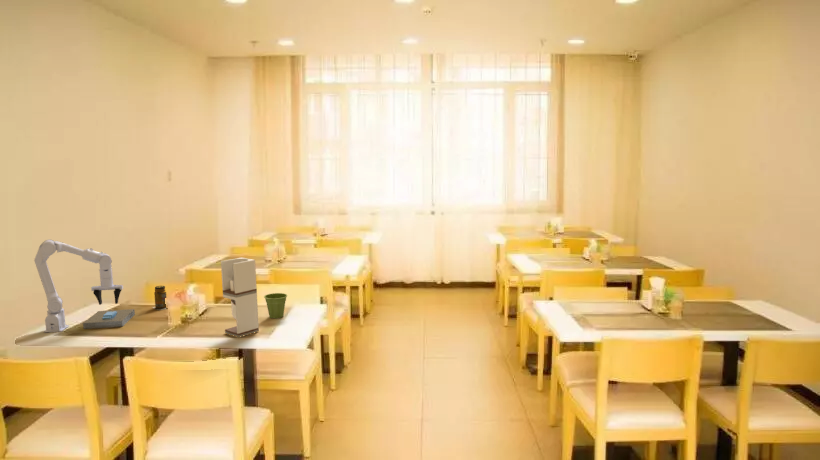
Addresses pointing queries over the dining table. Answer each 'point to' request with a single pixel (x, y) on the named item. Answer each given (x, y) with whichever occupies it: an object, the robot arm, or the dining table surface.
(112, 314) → the servo
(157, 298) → the condiment
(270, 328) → the dining table surface
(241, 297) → the espresso maker
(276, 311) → the plant pot
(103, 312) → the chassis
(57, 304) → the robot arm
